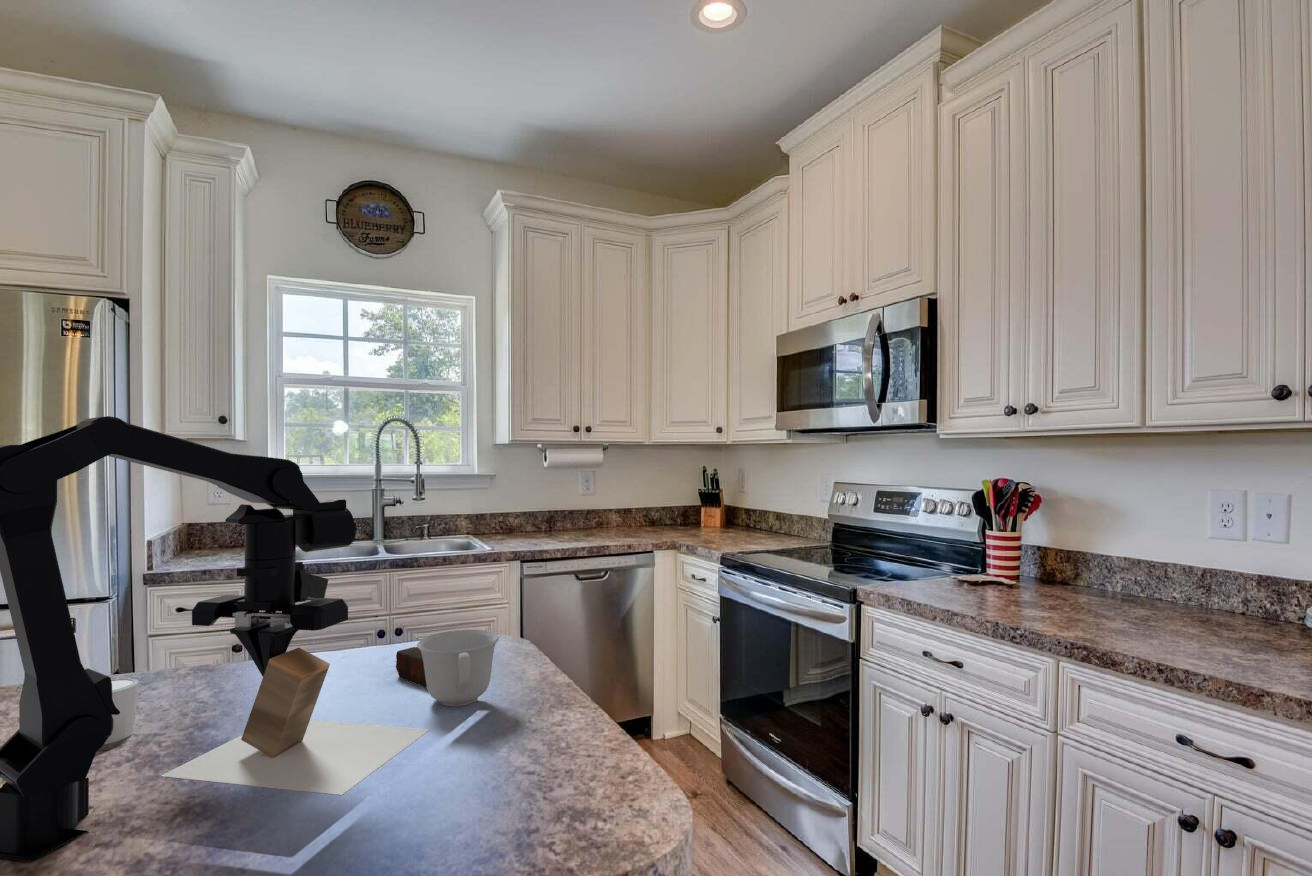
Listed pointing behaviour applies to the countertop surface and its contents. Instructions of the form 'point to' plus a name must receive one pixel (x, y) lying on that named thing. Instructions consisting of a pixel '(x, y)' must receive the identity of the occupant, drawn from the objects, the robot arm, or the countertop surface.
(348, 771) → the cutting board
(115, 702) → the white tapered cup
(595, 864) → the countertop surface
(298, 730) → the walnut block
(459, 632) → the teacup
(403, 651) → the brick
